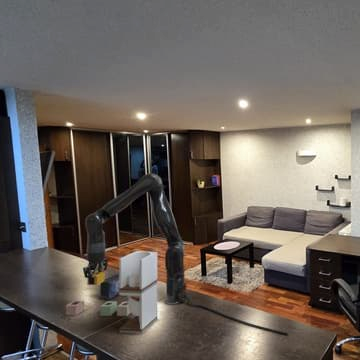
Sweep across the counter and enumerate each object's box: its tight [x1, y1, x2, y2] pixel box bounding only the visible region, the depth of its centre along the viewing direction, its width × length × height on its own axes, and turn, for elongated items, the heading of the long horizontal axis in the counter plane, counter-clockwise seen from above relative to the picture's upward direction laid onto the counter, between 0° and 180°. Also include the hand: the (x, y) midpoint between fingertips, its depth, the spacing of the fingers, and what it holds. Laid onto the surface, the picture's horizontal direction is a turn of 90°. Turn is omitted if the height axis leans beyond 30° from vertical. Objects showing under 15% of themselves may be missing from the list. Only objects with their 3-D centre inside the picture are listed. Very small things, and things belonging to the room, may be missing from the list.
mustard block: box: [86, 271, 106, 286], centre depth 142 cm, size 5×5×5 cm
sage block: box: [99, 300, 118, 317], centre depth 142 cm, size 5×5×5 cm
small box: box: [99, 274, 120, 301], centre depth 160 cm, size 11×6×10 cm, turn 168°
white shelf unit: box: [118, 250, 158, 335], centre depth 131 cm, size 11×11×35 cm
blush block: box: [65, 300, 85, 316], centre depth 141 cm, size 5×5×5 cm
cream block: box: [116, 301, 132, 317], centre depth 142 cm, size 5×5×5 cm
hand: (96, 282), depth 142 cm, fingers closed on mustard block, 5 cm apart
